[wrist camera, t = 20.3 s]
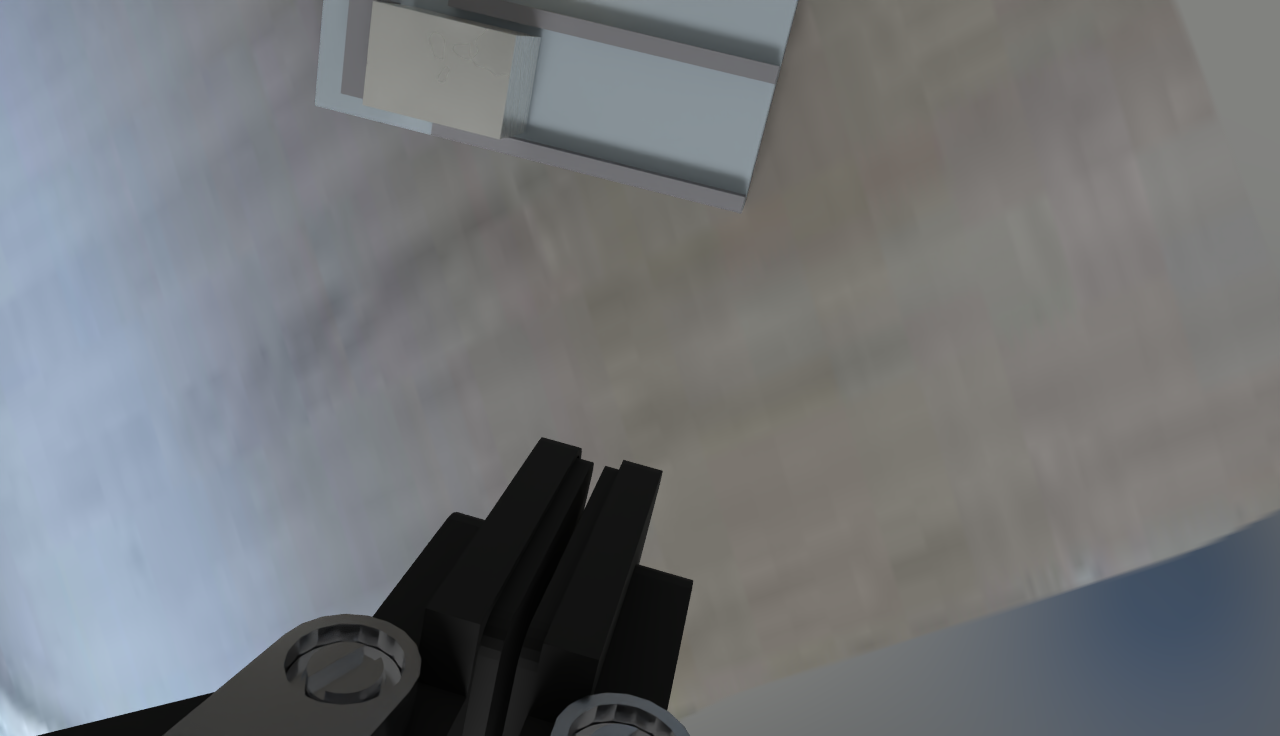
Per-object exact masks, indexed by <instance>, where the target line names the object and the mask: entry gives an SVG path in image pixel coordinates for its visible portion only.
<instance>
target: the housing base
mask: <svg viewBox="0 0 1280 736" xmlns="http://www.w3.org/2000/svg"><path fill="white" fill-rule="evenodd" d="M373 1H377V2H385V3H393V4H401V5H409V6H414V7H418V8H422V9H426V10H430V11H434V12H439V13H443V14H447V15H451V16H455V17H459V18H464V19H468V20H472V21H476V22H480V23H484V24H488V25H493V26H497V27H501V28H505V29H509V30H513V31H518V32H522V33H526V34H530V35H534V36H538V37H541V41H540V47H539V53H538V59H537V65H536V71H535V77H534V83H533V89H532V95H531V101H530V107H529V113H528V118H527V124H526V130H525V133H521V134H518V135H514V136H511V137H507V138H503V139H496V138H492V137H488V136H484V135H480V134H476V133H472V132H468V131H464V130H460V129H456V128H452V127H448V126H444V125H440V124H436V123H432V122H428V121H424V120H420V119H416V118H412V117H408V116H404V115H400V114H396V113H392V112H388V111H384V110H380V109H376V108H373V107H369V106H365V105H362V104H363V94H364V84H365V74H366V64H367V54H368V44H369V35H370V25H371V15H372V5H373ZM797 4H798V0H323V12H322V24H321V36H320V48H319V61H318V73H317V85H316V97H315V106H319V107H323V108H327V109H331V110H335V111H338V112H342V113H346V114H350V115H354V116H358V117H362V118H366V119H370V120H374V121H378V122H382V123H386V124H390V125H394V126H398V127H402V128H406V129H410V130H414V131H418V132H422V133H425V134H429V135H433V136H437V137H441V138H445V139H449V140H453V141H457V142H460V143H464V144H468V145H472V146H476V147H480V148H484V149H488V150H492V151H496V152H500V153H504V154H508V155H512V156H516V157H520V158H524V159H528V160H532V161H536V162H540V163H543V164H547V165H551V166H555V167H559V168H563V169H567V170H571V171H575V172H579V173H583V174H587V175H591V176H595V177H599V178H603V179H607V180H611V181H615V182H619V183H623V184H627V185H630V186H634V187H638V188H642V189H646V190H650V191H654V192H658V193H662V194H666V195H670V196H674V197H678V198H682V199H686V200H690V201H694V202H698V203H702V204H706V205H710V206H714V207H717V208H721V209H725V210H729V211H733V212H737V213H742V210H743V208H744V205H745V201H746V197H747V194H748V190H749V186H750V182H751V178H752V175H753V171H754V167H755V163H756V159H757V156H758V152H759V148H760V144H761V140H762V137H763V133H764V129H765V125H766V121H767V118H768V114H769V110H770V106H771V103H772V99H773V95H774V91H775V87H776V84H777V80H778V76H779V72H780V68H781V65H782V61H783V57H784V53H785V49H786V46H787V42H788V38H789V34H790V31H791V27H792V23H793V19H794V15H795V12H796V8H797Z"/></svg>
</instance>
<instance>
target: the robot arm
mask: <svg viewBox="0 0 1280 736" xmlns="http://www.w3.org/2000/svg"><path fill="white" fill-rule="evenodd" d="M581 453H582V449H581V448H579V447H575V446H572V445H568V444H565V443H561V442H558V441H554V440H550V439H547V438H543V437H542V438H541V439H540V440H539V441H538V443H537V444H536V446H535V447H534V449H533V450H532V452H531V453H530V455H529V456H528V458H527V459H526V461H525V462H524V464H523V465H522V467H521V468H520V469H519V471H518V472H517V474H516V475H515V477H514V478H513V480H512V481H511V483H510V484H509V486H508V487H507V489H506V490H505V492H504V493H503V495H502V496H501V498H500V499H499V500H498V502H497V503H496V505H495V506H494V508H493V509H492V511H491V512H490V514H489V515H488V517H487V518H486V520H483V519H479V518H476V517H472V516H469V515H465V514H462V513H459V512H454V513H452V514H451V515H450V516H449V517H448V518H447V520H446V521H445V522H444V524H443V525H442V526H441V528H440V529H439V530H438V531H437V533H436V534H435V535H434V537H433V538H432V539H431V541H430V542H429V543H428V545H427V546H426V547H425V549H424V550H423V551H422V553H421V554H420V555H419V556H418V558H417V559H416V560H415V562H414V563H413V564H412V566H411V567H410V568H409V570H408V571H407V572H406V574H405V575H404V576H403V577H402V579H401V580H400V581H399V583H398V584H397V585H396V587H395V588H394V589H393V591H392V592H391V593H390V595H389V596H388V597H387V598H386V600H385V601H384V602H383V604H382V605H381V606H380V608H379V609H378V610H377V612H376V613H375V614H374V616H373V617H371V616H365V615H353V614H341V615H332V616H324V617H320V618H317V619H314V620H311V621H308V622H305V623H302V624H300V625H299V626H297V627H296V628H294V629H292V630H291V631H289V632H288V633H286V634H284V635H283V636H282V637H281V638H280V639H278V640H277V641H276V642H275V643H274V644H272V645H271V646H270V647H269V648H267V649H266V650H265V651H264V652H263V653H261V654H260V655H259V656H258V657H257V658H255V659H254V660H253V661H252V662H251V663H249V664H248V665H247V666H246V667H245V668H243V669H242V670H241V671H240V672H239V673H237V674H236V675H235V676H234V677H233V678H231V679H230V680H229V681H228V682H227V683H225V684H224V685H223V686H222V687H220V688H219V689H218V690H217V691H216V692H213V693H209V694H205V695H201V696H197V697H193V698H189V699H185V700H181V701H177V702H172V703H168V704H164V705H160V706H156V707H152V708H148V709H144V710H140V711H136V712H132V713H128V714H124V715H120V716H115V717H111V718H107V719H103V720H99V721H95V722H91V723H87V724H83V725H79V726H75V727H71V728H67V729H63V730H58V731H54V732H50V733H46V734H42V735H38V736H690V735H689V733H688V732H687V730H686V728H685V727H684V726H683V725H682V724H681V723H680V722H679V721H678V720H677V719H676V718H675V717H674V716H673V715H672V714H671V713H669V712H668V711H667V709H668V704H669V699H670V694H671V689H672V684H673V679H674V674H675V669H676V664H677V660H678V655H679V650H680V645H681V640H682V635H683V630H684V625H685V620H686V615H687V610H688V606H689V601H690V596H691V591H692V585H693V580H690V579H687V578H683V577H680V576H676V575H673V574H669V573H666V572H662V571H659V570H656V569H652V568H649V567H645V566H642V565H639V562H640V558H641V554H642V551H643V547H644V543H645V539H646V535H647V531H648V527H649V523H650V520H651V516H652V512H653V508H654V504H655V500H656V496H657V493H658V489H659V485H660V481H661V477H662V472H663V471H661V470H658V469H654V468H651V467H647V466H643V465H640V464H636V463H633V462H629V461H626V460H623V462H622V464H621V467H620V469H619V470H618V469H615V468H611V467H608V466H605V467H604V469H603V471H602V474H601V476H600V478H599V480H598V482H597V484H596V486H595V488H594V490H593V492H592V495H591V497H590V499H589V501H588V503H587V505H586V507H585V503H586V499H587V494H588V490H589V485H590V481H591V477H592V472H593V466H594V463H593V462H590V461H586V460H583V459H581ZM584 508H585V509H584Z"/></svg>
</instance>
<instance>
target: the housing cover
mask: <svg viewBox="0 0 1280 736" xmlns="http://www.w3.org/2000/svg"><path fill="white" fill-rule="evenodd" d="M540 41H541V37H538V36H534V35H530V34H526V33H522V32H518V31H513V30H509V29H505V28H501V27H497V26H493V25H488V24H484V23H480V22H476V21H472V20H468V19H464V18H459V17H455V16H451V15H447V14H443V13H439V12H434V11H430V10H426V9H422V8H418V7H414V6H409V5H401V4H393V3H385V2H377V1H373V5H372V15H371V25H370V35H369V44H368V54H367V64H366V74H365V84H364V94H363V104H362V105H365V106H369V107H373V108H376V109H380V110H384V111H388V112H392V113H396V114H400V115H404V116H408V117H412V118H416V119H420V120H424V121H428V122H432V123H436V124H440V125H444V126H448V127H452V128H456V129H460V130H464V131H468V132H472V133H476V134H480V135H484V136H488V137H492V138H496V139H503V138H507V137H511V136H514V135H518V134H521V133H525V130H526V124H527V118H528V113H529V107H530V101H531V95H532V89H533V83H534V77H535V71H536V65H537V59H538V53H539V47H540Z"/></svg>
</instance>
